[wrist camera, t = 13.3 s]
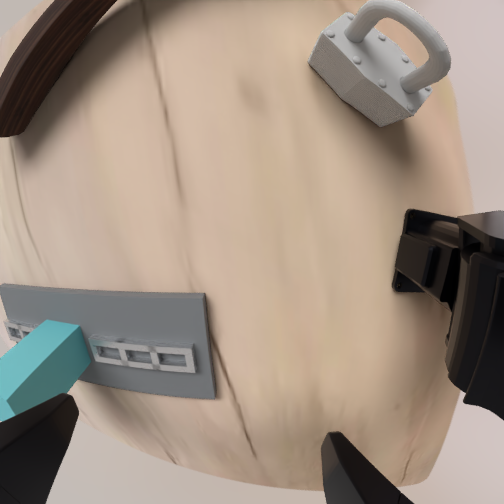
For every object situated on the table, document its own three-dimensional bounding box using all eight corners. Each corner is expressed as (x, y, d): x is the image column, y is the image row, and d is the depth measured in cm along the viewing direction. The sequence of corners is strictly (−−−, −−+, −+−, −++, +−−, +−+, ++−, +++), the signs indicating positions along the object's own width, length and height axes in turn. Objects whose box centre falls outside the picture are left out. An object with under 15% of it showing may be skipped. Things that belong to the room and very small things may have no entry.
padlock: (301, 67, 16) (337, -16, 6) (333, 38, 15) (381, -39, 5) (375, 133, 17) (465, 106, 7) (402, 101, 16) (489, 65, 6)
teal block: (79, 325, 20) (6, 400, 9) (91, 361, 21) (32, 440, 10) (46, 319, 20) (-25, 380, 9) (58, 353, 21) (-1, 419, 10)
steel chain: (193, 342, 20) (191, 348, 19) (197, 366, 21) (195, 372, 20) (7, 318, 20) (3, 321, 20) (14, 336, 21) (10, 339, 20)
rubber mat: (204, 292, 20) (202, 298, 19) (216, 392, 22) (214, 399, 22) (3, 283, 20) (-2, 286, 19) (29, 359, 23) (25, 363, 22)
